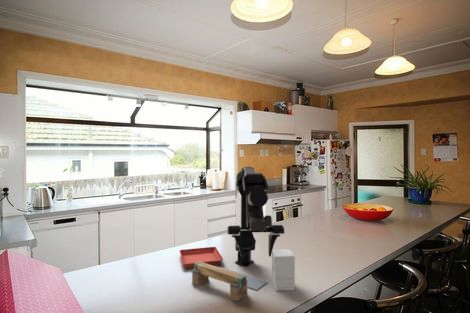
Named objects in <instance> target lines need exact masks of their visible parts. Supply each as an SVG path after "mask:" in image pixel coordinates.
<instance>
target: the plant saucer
mask: <svg viewBox="0 0 470 313" xmlns="http://www.w3.org/2000/svg"><path fill="white" fill-rule="evenodd" d="M179 254H180V260H181V264H182V266H183V267H184V268H186V269H194V264H195V263H197V262H199V261H200V262H203V263H206V264H209V265H212V266H218V265H220V264H221V263H222V262H223V261H224V258H223V257H222V254H221V253H220V252H219V249H218V248H217V247H216V246H209V247H197V248H188V249H186V248H185V249H180V250H179Z"/></svg>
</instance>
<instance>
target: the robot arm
mask: <svg viewBox="0 0 470 313" xmlns="http://www.w3.org/2000/svg"><path fill="white" fill-rule="evenodd" d="M235 179H236V180H235V181H236V182H235V185H236V186H235V187H237V191H238V192H239V195H240V225H228V226H227V228H226V230H227V235H230V237H231V238H234V242H235V243H234V249H235V252H237V260H235V261H234V263H235V264H237V265H240V266H244V267H248V266H250V265H251V264H253V263H254V262H255V261H254V260H252V251H255V250H256V243H257V239H256V238H255V236H254V234H253V233H269V234H268V247H267V252H268V257H271V258H272V250H274V245H275V242H276V240H277V238H278V237H281V235H283V234H284V235H285V228H284V225H283V224H273V223H272V222H273V220H272V215H264V206H265V205H266V204H267V203H268V200H269V196H268V193H267V192H266V191H267V190H268V189H269V185H268V181H267V179H266V177H265V176H264V173H262V172H256V171H255V168H254V167H253V166H243V167H241V170H240V171H239V172H238V173H237V174H236V178H235Z"/></svg>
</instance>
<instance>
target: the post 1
mask: <svg viewBox="0 0 470 313" xmlns="http://www.w3.org/2000/svg"><path fill="white" fill-rule="evenodd" d="M191 277H192V278H191V279H192V280H191V284H192V285H194V286H196V287H200V286H201V285H203V284H205V283H206V282H208V281H209V278H210V277H208V276H205V275H202V274H200V271H198V270H195V269H194V268H193V269H192V271H191Z"/></svg>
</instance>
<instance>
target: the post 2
mask: <svg viewBox="0 0 470 313" xmlns="http://www.w3.org/2000/svg"><path fill="white" fill-rule="evenodd" d="M247 295H248V288H247V279H246V285H245V286H244V287H242V288H239V284H236V283H233V282H232V283H230V284H229V299H230V300H233V301H236V302H239V301H240V300H241V299H242V298H244V297H245V296H247Z"/></svg>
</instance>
